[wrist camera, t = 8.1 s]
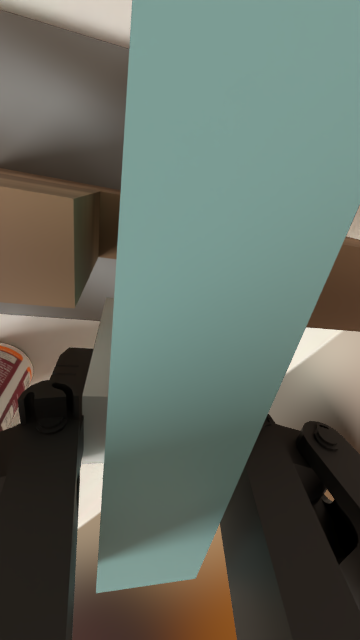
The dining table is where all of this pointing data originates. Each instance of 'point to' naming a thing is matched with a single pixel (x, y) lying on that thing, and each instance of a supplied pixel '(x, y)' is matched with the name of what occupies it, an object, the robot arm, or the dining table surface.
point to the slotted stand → (82, 179)
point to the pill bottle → (12, 381)
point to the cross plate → (217, 254)
